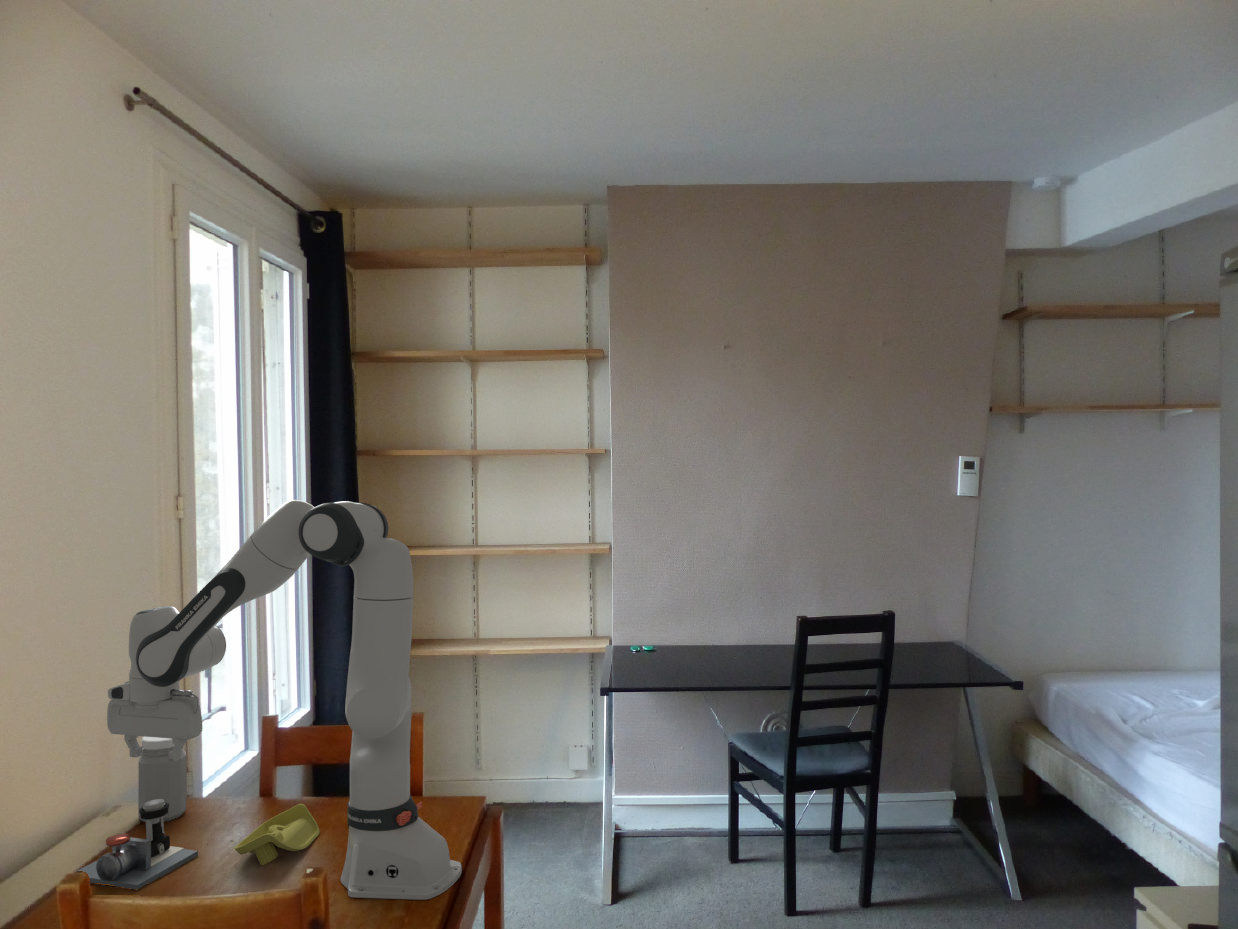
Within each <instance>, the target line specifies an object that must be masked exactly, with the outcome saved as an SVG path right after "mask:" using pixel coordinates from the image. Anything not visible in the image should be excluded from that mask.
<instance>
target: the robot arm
mask: <svg viewBox="0 0 1238 929" xmlns="http://www.w3.org/2000/svg"><path fill="white" fill-rule="evenodd" d="M388 534H389V523H388V519H387V517H386V515H385V513H383V512H382V510H381V509H379V508H378V507H377V506H375V505H372V504H369V503H367V502H353V501H349V500H347V501H346V500H345V501H335V502H325V503H322V504H319V505H317V506H313V504H311V503H309V502H306V501H304V500H299V499H292V500H287V501H285V502H284V503H282V504H281V505H280V506H279V507H277V508H276V509H275V510H274V511H273V512H271V513H270V514H269V515H268V516H267V517H266V518H265V519H263V521H262V522H261V523H260V524H259V525H258V526H257V527H256V529H255V530H254V531H253V532H252V533H251V534H250V536H248V538H247V539H246V540H245V541H244V543H242V545H241V547H239V549H238V550H237V551H236V552H235V554H234V555H233V556H232V557H231V559H229V560H228V562H226V563H225V565H224V566H222V568H221V569H220V570H219V571H218V573H216V574H215V576H213V577H212V578H211V580H209V581H208V582H207V584H206V585H204V586H203V587H202V589H201V590H200V591H199V592H197V594H195V595H194V597H193V598H192V599H191V600H190V601H189V602H188V603H187V604H186V605H185V606H184V607H183V609H181V611H179V610H178V609H177V608H176V607H175V606H173V605H172V606H171V605H163V606H158V607H154V608H149V609H145V610H141V611H139V612H137V613H135V614H134V616H132V619H131V622H130V624H129V633H128V657H129V660H130V663H131V665H130V670H129V673H128V681H126V682H124V683H122V684H117V685H116V686H112V687H110V688H109V689H108V690H107V697H108V699H109V702H108V704H107V712H106V714H107V715H106V722H107V724H106V725H107V729H108V731H109V732H110V734H111V735H123V736H124V743H125V744H126V745H127V746H126V747H127V748H128V750H129V757H130V758H140V757H141V755H142V753H143V752H142V750H143V748H142V745H141V746H140V744H139V742H138V738H139V737H144V736H145V737H158V738H171V739H172V743H173V744H175V745H174V748H173V750H172V751H170V752H168V756H169V757H168V759H169V760H170V761H177V760H179V759H180V758H181V750H182V748H183V749H184V746H185V745H186V742H187V741H189V740H191V739H194V738H197V737H198V736H200V735H201V734H202V732H203V718H202V711H201V707H200V701H199V697H198V696H197V695H196V694H195V693H194V692H193V691H192V690H189V689H188V690H182V689H180V681H181V680H182V679H185V678H189V677H190V676H194V675H196V674H199V673H201V672H204V671H206V670H209V669H211V668H213V667H214V666H217V665H218V664H219V663H221V661H222V660H223V658H224V657H225V654H226V651H227V640H226V637H225V634H224V632H223V631H222V630H221V629H220V627H219V626H218V625H217V624H218V623H219V622H220V621H221V620H222V619H223V618H224V617H225V616H226V615H228V614H229V613H230V612H232V611H233V610H235V609H237V608H238V607H241V606H242V605H245V604H246V603H249V602H251V601H254V600H256V599H258V598H261V597H264V596H266V595H268V594H271V593H273V592H276V590H278V589H279V588H280V587H281V586H283V585H284V584H285V583H286V582H287V581H289V580H290V579H291V578H292V577H293V575H294V574H296V572H297V571H298V570H299V569H300V567H301V566H302V565H303V564H304V562H306V560H307V559H308V558H309V556H313V557H314V558H317V559H319V560H322V561H326V562H329V563H332V564H334V565H336V566H340V567H342V568H343V567H344V568H345V567H348V566H349V567H350V568H351V570H352V572H353V578H354V584H353V587H354V588H353V604H352V605H353V607H352V608H353V609H352V628H351V631H352V634H351V644H350V645H351V646H350V652H349V661H348V662H349V663H348V671H347V672H348V673H347V680H346V690H345V691H346V692H345V693H346V694H345V705H344V706H345V707H344V709H345V712H344V713H345V718H346V722H347V724H348V726H349V727H350V730H351V731H352V733H351V735H352V736H351V747H350V756H349V801H348V802H347V811H346V812H347V813H346V816H347V820H346V822H347V827H348V838H347V846H346V847H347V848H346V854H345V861H344V864H343V868H342V872H341V876H340V882H341V884H342V885H343V886H344V887H345V888H346V889H347V895H348V897H350V898H357V899H359V898H363V899H387V900H388V899H392V900H393V899H395V900H424V901H425V900H430V899H433V898H435V897H437V896H440V895H441V894H442V893H445V891H447V890H449V888H451V887H452V886H453V885H454V884H455V883H456V882H457V881H458V880H459V879H460V877H461V875H462V873H463V872H462V871H463V868H462V864H461V862H460V861H456V860H453V859H451V858H450V856H451V855H450V851H449V846H448V842H447V840H446V839H445V837H444V836H442V835H441V834H440V833H438V831H436V830H435V829H434V828H432V827H431V826H430V825H429V824H428V823H427V822H426V821H424V820H423V819H422V818H421V817H419V812H418V811H419V810H420V809H421V808H422V807H423V805H422V804H423V801H421V800H420V801H419V802H418V803H415V801H414V799H413V797H412V794H411V793H410V792H411V791H410V788H411V786H410V783H411V781H410V778H411V776H410V775H411V774H410V772H411V763H410V761H411V760H410V759H411V758H410V757H411V752H410V751H411V732H412V731H411V730H412V701H413V699H412V696H413V695H412V692H413V691H412V690H413V689H412V687H413V686H412V681H411V678H410V676H409V675H410V664H411V663H410V661H411V648H412V641H413V640H412V639H413V636H412V635H413V616H414V615H413V614H414V612H413V611H414V610H413V609H414V573H413V572H414V571H413V564H412V563H413V562H412V558H411V552H410V549H409V547H408V546H407V545H406V544H405V543H404V542H402V541H401V540H398V539H395V538H390V537H389V538H388Z"/></svg>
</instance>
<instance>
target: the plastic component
mask: <svg viewBox="0 0 1238 929" xmlns="http://www.w3.org/2000/svg"><path fill="white" fill-rule="evenodd" d="M319 835H320V828H319V825H318V823H317V821H316V819H315V817H313V815H312V813H311V812H310V811H309V809H308V807H307V806H306V805H305V804H303V803H298V804H296V805H294V806H292V807H290V808H288V809H287V810H285V811H283V812H280V813H279V814H277V815H274V816H273V817H271V818H269V819H267V820H266V821H265V822H263V823H262V824H260V825H259V826H258V827H257V828H255V829H254V830H253V831H252V832H250V834H248V835H247V836H246V837H245V838H243V839H242V840H241V841H240V842H239V843H238V844H237V845H236V846H235V847H234V848H233V849H234V851H235V852H237V853H238V854H240V855H245V854H248V853H249V854H252V853H255V855H256V858H257V860H258V862H259V864H260V866H261V865H262V866H264V865H267V864H269V863H270V862H272V861H274V860H275V859H277V858H278V857H279V853H278V851H277V849H276V847H277V848H279V849H280V848H281V849H284V850H286V851H290V852H299V851H301V850H304V849H306V848H308V847H309V846H310V845H311V844H312V843H313V842H314V841H315V839H316V838H317V837H318V836H319ZM275 846H276V847H275Z"/></svg>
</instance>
